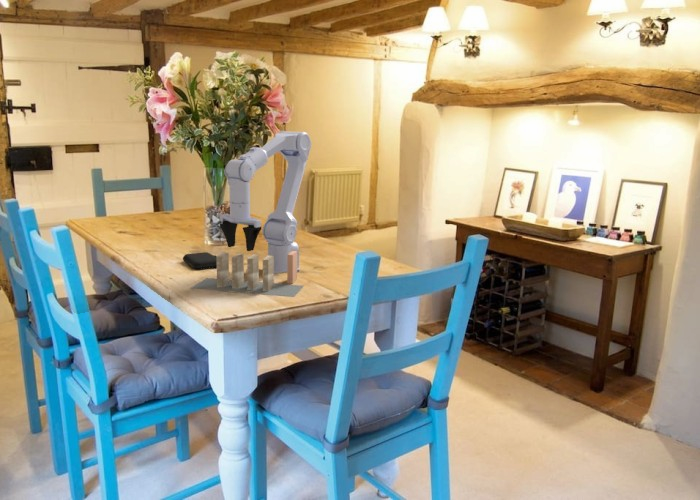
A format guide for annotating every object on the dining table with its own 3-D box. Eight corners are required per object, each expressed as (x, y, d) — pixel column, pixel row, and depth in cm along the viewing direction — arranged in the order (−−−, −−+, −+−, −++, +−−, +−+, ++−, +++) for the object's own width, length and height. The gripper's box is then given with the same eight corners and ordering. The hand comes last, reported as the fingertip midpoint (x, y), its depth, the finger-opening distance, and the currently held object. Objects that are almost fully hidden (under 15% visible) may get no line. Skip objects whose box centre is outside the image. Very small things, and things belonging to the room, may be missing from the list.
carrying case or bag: (227, 269, 187) (212, 258, 199) (227, 259, 186) (212, 250, 198) (194, 272, 181) (181, 262, 193) (194, 263, 181) (181, 253, 193)
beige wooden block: (217, 287, 165) (216, 256, 163) (223, 282, 170) (223, 252, 168) (222, 287, 165) (221, 256, 163) (229, 282, 169) (228, 252, 167)
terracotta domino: (287, 284, 171) (287, 254, 169) (291, 279, 175) (292, 250, 173) (292, 284, 170) (292, 254, 168) (297, 280, 175) (297, 251, 173)
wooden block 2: (262, 290, 163) (262, 259, 161) (268, 285, 167) (268, 255, 165) (268, 291, 162) (268, 260, 160) (273, 286, 167) (273, 255, 165)
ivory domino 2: (232, 288, 164) (231, 257, 162) (238, 283, 169) (238, 253, 167) (237, 288, 164) (237, 257, 162) (243, 283, 169) (243, 253, 167)
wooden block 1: (247, 289, 163) (247, 258, 161) (253, 284, 168) (253, 254, 166) (252, 290, 163) (252, 258, 161) (258, 285, 168) (258, 254, 166)
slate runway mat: (190, 289, 163) (190, 288, 163) (206, 278, 174) (206, 277, 174) (293, 297, 158) (294, 296, 158) (304, 286, 169) (304, 285, 169)
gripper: (211, 201, 167) (213, 247, 170) (248, 206, 159) (249, 254, 162) (229, 198, 173) (230, 243, 176) (266, 203, 165) (266, 250, 168)
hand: (240, 248), depth 169 cm, fingers open, 7 cm apart
